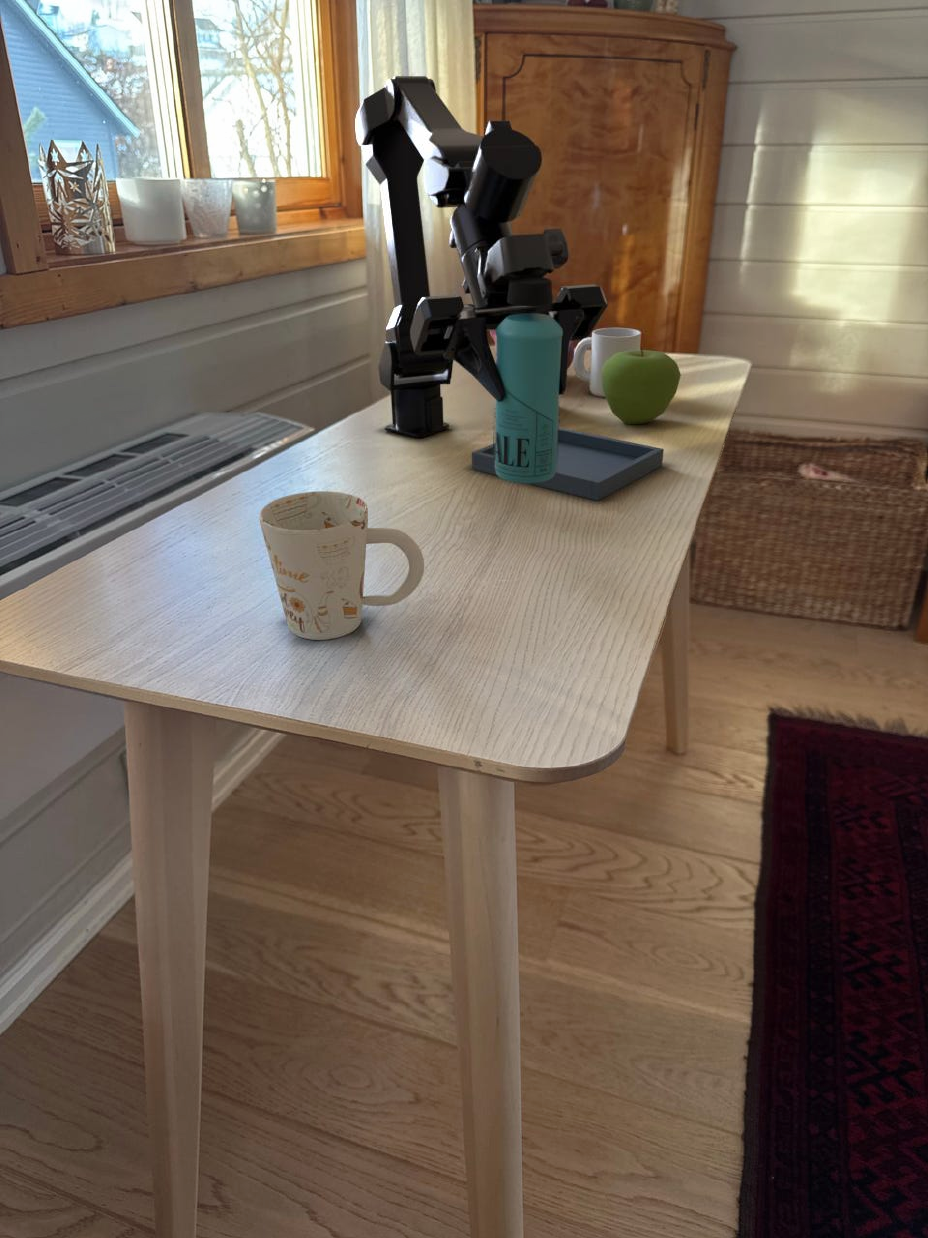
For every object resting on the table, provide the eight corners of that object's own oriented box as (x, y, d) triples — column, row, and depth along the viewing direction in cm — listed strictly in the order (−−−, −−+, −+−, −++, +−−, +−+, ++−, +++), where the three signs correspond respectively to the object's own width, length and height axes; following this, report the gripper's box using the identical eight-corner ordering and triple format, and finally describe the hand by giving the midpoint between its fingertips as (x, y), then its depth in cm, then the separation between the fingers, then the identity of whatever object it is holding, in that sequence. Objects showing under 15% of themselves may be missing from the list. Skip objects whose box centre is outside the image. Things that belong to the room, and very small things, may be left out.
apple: (667, 435, 118) (675, 358, 113) (589, 428, 121) (593, 353, 116) (682, 413, 127) (689, 341, 122) (609, 407, 130) (613, 337, 125)
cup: (631, 399, 133) (635, 338, 129) (566, 394, 137) (568, 334, 132) (641, 388, 139) (645, 328, 135) (578, 383, 143) (580, 325, 138)
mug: (279, 602, 78) (265, 493, 73) (424, 594, 78) (419, 486, 74) (269, 651, 70) (252, 533, 66) (428, 642, 71) (424, 525, 66)
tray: (471, 469, 107) (471, 452, 106) (541, 439, 117) (541, 423, 116) (597, 501, 97) (598, 482, 96) (662, 465, 107) (663, 448, 106)
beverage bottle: (559, 477, 93) (569, 272, 83) (554, 500, 87) (564, 284, 77) (497, 473, 94) (499, 270, 84) (487, 497, 88) (489, 282, 78)
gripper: (414, 200, 78) (459, 357, 74) (605, 192, 84) (655, 337, 80) (393, 282, 88) (431, 423, 85) (564, 270, 94) (607, 402, 90)
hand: (532, 395), depth 85 cm, fingers closed on beverage bottle, 6 cm apart
